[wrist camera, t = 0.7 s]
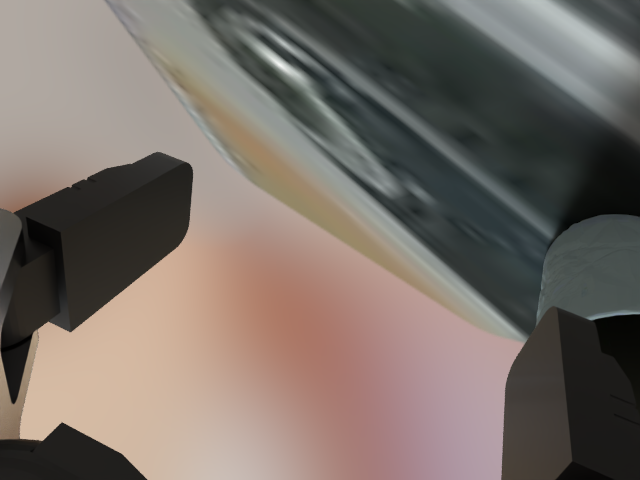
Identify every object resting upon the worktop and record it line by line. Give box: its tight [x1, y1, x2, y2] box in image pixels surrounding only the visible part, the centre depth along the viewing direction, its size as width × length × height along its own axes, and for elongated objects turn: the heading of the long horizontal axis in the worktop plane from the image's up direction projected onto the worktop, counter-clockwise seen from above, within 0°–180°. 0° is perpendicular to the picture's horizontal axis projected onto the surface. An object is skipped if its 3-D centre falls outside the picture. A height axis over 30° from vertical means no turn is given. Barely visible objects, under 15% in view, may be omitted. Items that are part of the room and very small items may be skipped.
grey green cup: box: [536, 214, 640, 417], centre depth 28 cm, size 10×10×12 cm
